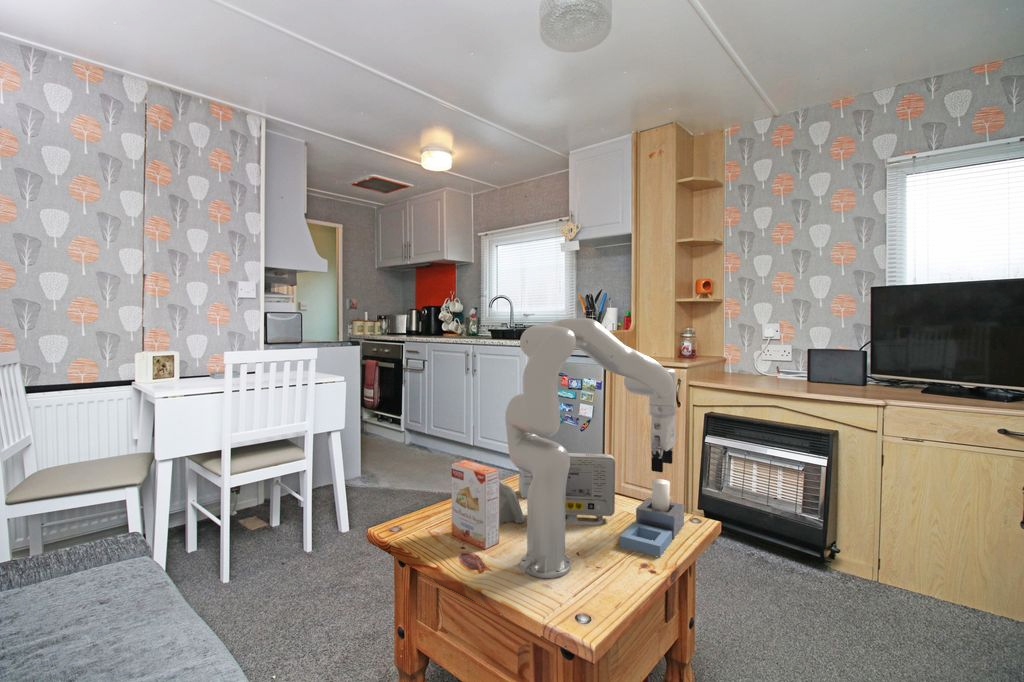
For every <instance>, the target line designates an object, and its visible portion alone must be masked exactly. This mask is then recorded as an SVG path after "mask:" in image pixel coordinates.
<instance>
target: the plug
mask: <svg viewBox="0 0 1024 682" xmlns="http://www.w3.org/2000/svg"><path fill="white" fill-rule="evenodd" d="M670 485H671V482H670V481H669V480H667V479H661V478H655V479H652V481H651V498H652V509H654V510H659V511H664V512H669V502H670V493H671V491H670V489H671V488H670Z"/></svg>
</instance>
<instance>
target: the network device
mask: <svg viewBox="0 0 1024 682" xmlns="http://www.w3.org/2000/svg"><path fill="white" fill-rule="evenodd" d="M568 454H569V457H570V468H569V472H568V477H567V483H566V499H565V505H566V508H565V515H566V516H567V519H565V525H584V526H600V525H602V524H604V517H612V516H614V514H615V511H616V510H615V508H616V505H615V502H616V501H615V500H616V497H615V496H616V492H615V491H616V461H615V458H614V456H613V455H612V454H608V453H607V454H606V453H583V452H582V453H579V452H578V453H577V452H575V453H574V452H568ZM532 480H533V475H531V482H532ZM578 516H592V517H593V516H594V517H595V516H597V517H598V518H597V519H598V521H585V520H584V521H583V520H582V521H581V520H578Z"/></svg>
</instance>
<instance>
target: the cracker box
mask: <svg viewBox="0 0 1024 682" xmlns="http://www.w3.org/2000/svg"><path fill="white" fill-rule="evenodd" d="M499 479H500V469H498V468H493V467H490V466H488V465H484V464H481V463H477V462H473V461H470V460H469V459H468V460H467V459H464V460H461V461H456V462H453V463H451V535H452V536H455V537H457V538H458V539H461V540H463V541H465V540H466V541H465V542H467V541H468V543H469V542H470V544H471V545H474V546H477V547H478V548H481V549H482V550H488V549H490V548H492V547H493V546H496V545H498V544H499V543H500V522H499Z"/></svg>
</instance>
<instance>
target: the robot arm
mask: <svg viewBox="0 0 1024 682" xmlns="http://www.w3.org/2000/svg"><path fill="white" fill-rule="evenodd" d="M519 346H520V349H521V351H522V353H523V354H524V355H526V357H529V360H527V363H526V365H525V367H524V370H523V374H522V390H523V391H522V393H519V394H517V395H515V396H513V397H512V398H511V399H510V400H509V402H508V404H507V406H506V410H505V416H504V417H505V418H504V419H505V431H506V438H507V439H506V440H507V447H508V448H507V449H508V455H509V458H510V461H511V463H512V464H513V465H514V466H515V467H516V468H518V470H519V469H521V470H523V471H525V472H528V473H530V474H531V475H533V480H532V482H531V485H530V487H529V490H528V495H527V498H526V504H527V507H526V509H527V511H526V514H527V515H526V516H527V518H526V523H527V524H526V528H527V529H526V530H527V531H526V536H527V537H526V541H527V542H526V552H525V554H524V555H523V556H521V559H520V564H519V566H518V569H519V570H518V571H520V572H521V573H527V574H528V575H530V576H531V577H532V576H533V577H537V578H541V579H542V578H543V579H553V578H561V577H563V576H564V575H566V574H568V573H569V572H570V571H571V569H572V561H571V559H570V558H569V557H568V556H567V555H566V524H565V520H566V514H565V508H566V505H565V499H566V483H567V477H568V472H569V468H570V457H569V454H568V453H569V452H568V451H567V449H566V448H565V447H564V446H563V445H561V444H560V443H558V442H556V441H553V440H551V439H548V438H549V437H552V436H554V435H555V434H557V433H558V431H559V429H560V425H561V411H560V402H559V390H558V377H559V374H560V371H561V369H562V367H563V366H564V364H565V362H566V361H568V360H569V358H570V357H571V356H572V354H573V353H574V351H575V350H576V351H577V350H578V351H581V352H583V354H585V355H586V356H588V357H589V358H590V359H591V360H593V361H594V362H595V363H597V365H599V366H600V367H601V368H603V369H604V370H605V371H608V372H610V373H612V374H615V375H617V376H622V377H624V378H623V385H624V387H625V389H626V390H627V392H628V393H629V392H630V393H632V394H633V395H638V396H647V397H648V398H649V405H648V406H649V408H648V409H649V410H648V411H649V412H648V414H649V416H650V417H651V421H650V447H651V449H650V450H651V451H650V452H651V453H650V454H651V455H650V456H651V457H650V458H651V462H650V463H651V470H650V471H652V472H655V473H663V472H664V464H670V465H672V464H673V454H674V453H673V452H674V451H673V449H674V446H676V443H677V442H676V441H677V439H676V437H677V435H676V419H675V417H676V415H677V405H676V404H677V372H676V371H675V369H673V368H670V367H664V366H663V365H661V364H660V363H659V362H658V361H656V359H653V358H652V357H650V356H648V355H645V354H643V353H642V352H639V351H637V350H636V349H634V348H632V347H629V346H627V345H626V344H624V343H623V342H622V341H620V339H618V338H617V337H616V336H615V335H613V334H612V332H610V330H608V329H607V328H605V326H604V325H602V324H601V323H600V322H598V321H597V320H595V319H593V318H588V317H586V318H585V317H579V318H577V317H576V318H575V317H574V318H573V317H571V318H564V319H559V320H555V321H551V322H547V323H545V322H544V323H541V324H536V325H532V326H529V327H528V328H526V329H525V330H524V331H523V332H522V334H521V336H520V340H519ZM546 437H548V438H546Z"/></svg>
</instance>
